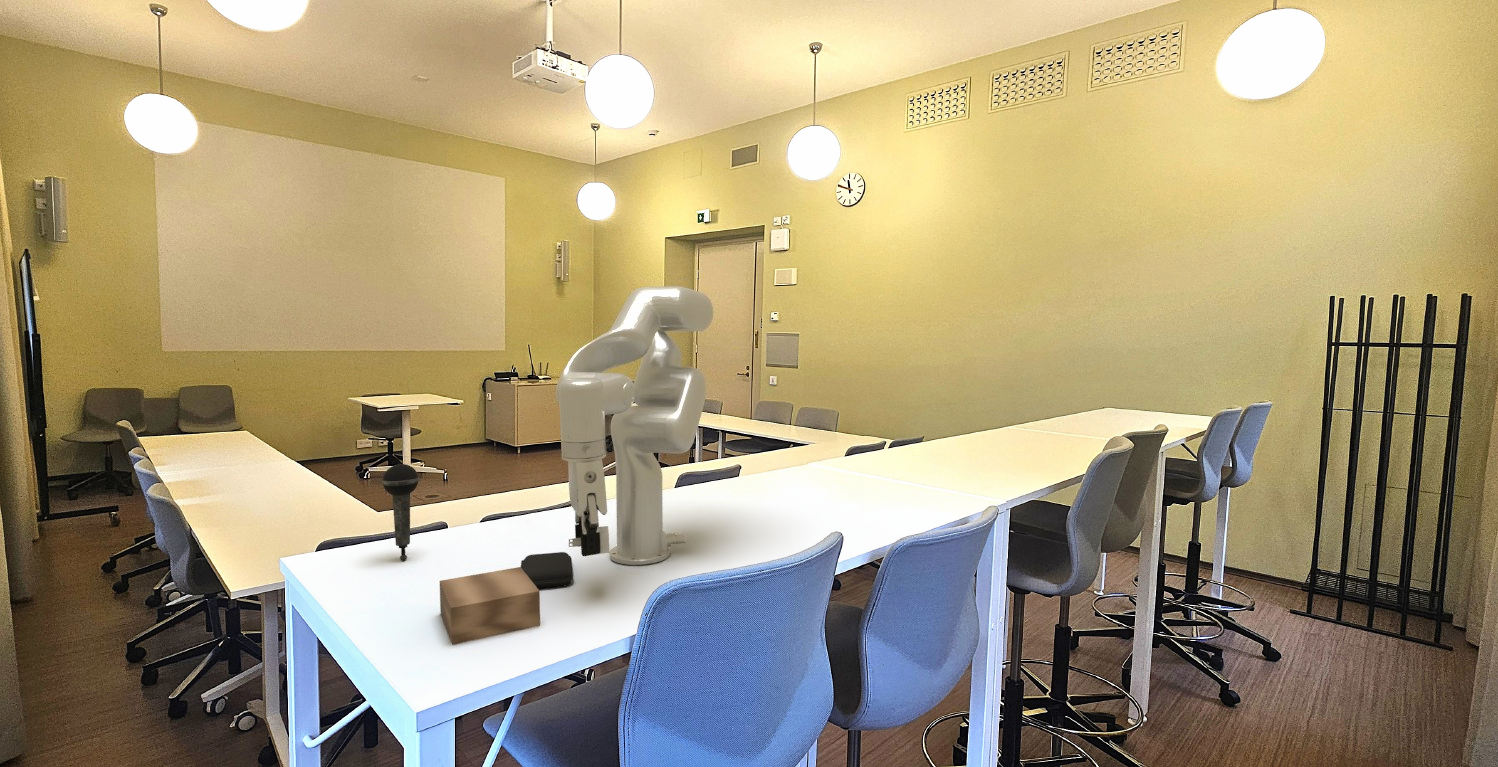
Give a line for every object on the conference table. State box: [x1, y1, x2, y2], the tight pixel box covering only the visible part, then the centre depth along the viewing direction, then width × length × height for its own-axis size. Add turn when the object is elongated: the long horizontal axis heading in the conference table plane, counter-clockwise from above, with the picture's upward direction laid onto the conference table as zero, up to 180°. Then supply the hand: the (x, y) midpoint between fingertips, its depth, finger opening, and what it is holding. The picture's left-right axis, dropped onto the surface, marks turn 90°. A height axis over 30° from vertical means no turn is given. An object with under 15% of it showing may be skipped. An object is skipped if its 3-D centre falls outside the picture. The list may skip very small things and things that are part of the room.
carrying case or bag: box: [520, 551, 574, 590], centre depth 129 cm, size 11×3×15 cm
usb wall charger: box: [568, 525, 610, 555], centre depth 120 cm, size 4×7×4 cm, turn 104°
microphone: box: [381, 463, 420, 562], centre depth 137 cm, size 7×7×20 cm
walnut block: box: [439, 566, 541, 646], centre depth 109 cm, size 13×13×6 cm
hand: (587, 548), depth 120 cm, fingers closed on usb wall charger, 4 cm apart
